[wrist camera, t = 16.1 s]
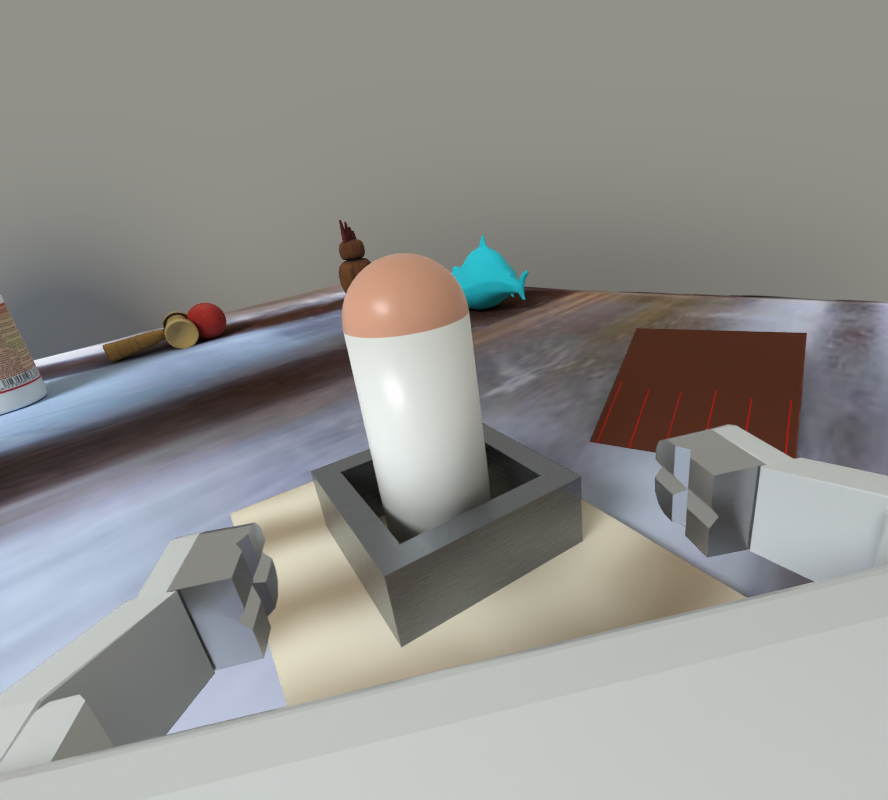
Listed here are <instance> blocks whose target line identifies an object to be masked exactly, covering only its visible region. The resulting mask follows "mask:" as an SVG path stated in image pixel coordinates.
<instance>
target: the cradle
mask: <svg viewBox="0 0 888 800" xmlns="http://www.w3.org/2000/svg"><path fill="white" fill-rule="evenodd" d="M482 425H483V433H484V442H485V450H486V459H487V467H488V475H489V484H490V492H491V498H492V500H490V501H488V502H486V503H484V504H482V505H480V506H478V507H476V508H473V509H471V510H469V511H467V512H465V513H463V514H461V515H459V516H457V517H455V518H453V519H451V520H449V521H447V522H445V523H443V524H440V525H438V526H436V527H434V528H432V529H430V530H428V531H426V532H424V533H422V534H420V535H418V536H416V537H414V538H412V539H410V540H407V541H405V542H403V543H401V544H400V543H399V542H398V541H397V540H396V538H395V537H394V536H393V535H392V534H391V532H390V531H389V530H388V529H387V528H386V526H385V525H384V524H383V523H382V522H381V520H380V519H379V518H380V517H382V516H384V515H385V514H384V510H383V505H382V501H381V496H380V492H379V487H378V483H377V478H376V474H375V469H374V465H373V461H372V456H371V452H370V449H368V450H366V451H363V452H361V453H358V454H355V455H353V456H350V457H347V458H345V459H342V460H340V461H337V462H334V463H332V464H329V465H326V466H324V467H321V468H319V469H316V470H313V471H311V474H312V477H313V481H314V484H315V488H316V491H317V495H318V498H319V502H320V505H321V509H322V512H323V516H324V519H325V523H326V526H327V528H328V530H329V532H330V533H331V535H332V536H333V538H334V540H335V541H336V543H337V544H338V546H339V548H340V549H341V551H342V552H343V554H344V556H345V557H346V559H347V561H348V562H349V564H350V565H351V567H352V569H353V570H354V572H355V573H356V575H357V577H358V578H359V580H360V582H361V583H362V585H363V586H364V588H365V590H366V591H367V593H368V594H369V596H370V598H371V599H372V601H373V602H374V604H375V606H376V607H377V609H378V611H379V612H380V614H381V615H382V617H383V619H384V620H385V622H386V623H387V625H388V627H389V628H390V630H391V632H392V633H393V635H394V636H395V638H396V640H397V641H398V643H399V644H400V646H401V647H403V646H405V645H407V644H408V643H410V642H412V641H413V640H415V639H417V638H418V637H420V636H422V635H424V634H425V633H427V632H429V631H430V630H432V629H434V628H436V627H437V626H439V625H441V624H442V623H444V622H446V621H447V620H449V619H451V618H453V617H454V616H456V615H458V614H459V613H461V612H463V611H464V610H466V609H468V608H470V607H471V606H473V605H475V604H476V603H478V602H480V601H482V600H483V599H485V598H487V597H488V596H490V595H492V594H493V593H495V592H497V591H499V590H500V589H502V588H504V587H505V586H507V585H509V584H510V583H512V582H514V581H516V580H517V579H519V578H521V577H522V576H524V575H526V574H528V573H529V572H531V571H533V570H534V569H536V568H538V567H539V566H541V565H543V564H545V563H546V562H548V561H550V560H551V559H553V558H555V557H557V556H558V555H560V554H562V553H563V552H565V551H567V550H568V549H570V548H572V547H574V546H575V545H577V544H579V543H580V542H582V541H583V532H582V503H581V477H580V476H579V475H577V474H575V473H573V472H571V471H570V470H568V469H566V468H564V467H562V466H560V465H559V464H557V463H555V462H553V461H551V460H549V459H548V458H546V457H544V456H542V455H540V454H538V453H537V452H535V451H533V450H531V449H529V448H527V447H526V446H524V445H522V444H520V443H518V442H517V441H515V440H513V439H511V438H509V437H507V436H506V435H504V434H502V433H500V432H498V431H496V430H495V429H493V428H491V427H489V426H487V425H485V424H484V423H482Z"/></svg>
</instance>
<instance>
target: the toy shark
mask: <svg viewBox="0 0 888 800" xmlns="http://www.w3.org/2000/svg"><path fill="white" fill-rule="evenodd" d="M452 271H453V272H452V273H451V274H452V275H453V276H454V277H455V278H456V280H457V281H458V283H459V284H460V286H461V288H462V290H463V292H464V294H465V297H466V300H467V304H468V308H471V309H487V308H491V307H493V306H495V305H497V304H499V303H500V302H502V301H503V300H504V299H506V298H507V297H508V296H509V295H511V296H513V297H514V293H518V294H519V295H520V296H521V298H522V299H523V300H525V296H524V283H525V279H526V277H527V275H528V271H525V272H524V273H523V274H522V275H521V277H520V278H519V280H517V274H516V272H515V271H514V270H513V269H512V268H511V267H510V266H509V265H508V263H507V262H506V261H505V259H504V258H503V257H502V256H501V255H500V254H499V253H498V252H496V251H495V250H492V249H490V248H488V247H487V246H486V243H485V238H484V235H483V236H482V238H481V242H480V246H479V248H477V249H475V250H474V251H472V252H471V253H470V254H469V255H468V257H467V258H466V260H465V262H464V264H463V265H462V267H458V266H456V267H454V268H453V270H452Z"/></svg>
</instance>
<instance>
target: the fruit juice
mask: <svg viewBox="0 0 888 800" xmlns="http://www.w3.org/2000/svg"><path fill="white" fill-rule="evenodd" d="M46 394H47V389H46V386H45V383H44V381H43V379H42V377H41V375H40V373H39V371H38V369H37V367H36V365H35V363H34V361H33V359H32V357H31V355H30V353H29V351H28V349H27V347H26V345H25V343H24V341H23V339H22V337H21V335H20V333H19V331H18V329H17V327H16V325H15V323H14V321H13V319H12V317H11V315H10V313H9V311H8V309H7V307H6V305H5V302H4V300H3V298H2V296H1V294H0V415H1V414H4V413H8V412H11V411H14V410H17V409H20V408H22V407H25V406H27V405H30V404H32V403H34V402H36V401H38V400H40V399H42V398H43V397H44V396H45V395H46Z"/></svg>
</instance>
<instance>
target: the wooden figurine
mask: <svg viewBox="0 0 888 800" xmlns="http://www.w3.org/2000/svg"><path fill="white" fill-rule="evenodd" d="M339 222H340V228H341V235H342V240H343V242H342V243H340V245H339V252H340V256H341V258H342V259H343V260H347V261H345V262H343V263H342V264H341V266H340V268H339V278H340V282H341V285H342V287H343V289H344V291H345V293H347V290H348V288H349V286H350V285H351V283H352V281H353V280H354V279H355V277H356V276H357V275H358V274H359V273H360V272H361V271H362V270H363V269H364V268H365V267H366V266H368V265H369V264H370V263H371V262H370V261H369V260H368V259H365V258H362V257H363V256H364V253H365V249H364V245H363V243H362V242H361V241H360V240H357V239H356V237H355V234H354V231H351V228H350V227H347V224H346V222H344V224H345V229H344V227H343V224H342V222H341V220H339Z"/></svg>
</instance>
